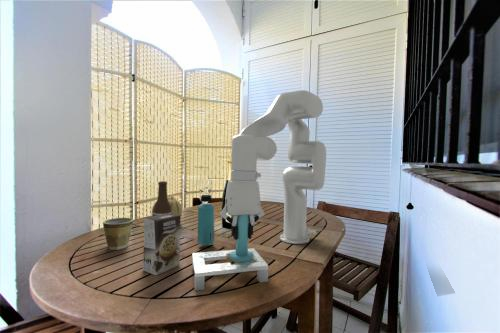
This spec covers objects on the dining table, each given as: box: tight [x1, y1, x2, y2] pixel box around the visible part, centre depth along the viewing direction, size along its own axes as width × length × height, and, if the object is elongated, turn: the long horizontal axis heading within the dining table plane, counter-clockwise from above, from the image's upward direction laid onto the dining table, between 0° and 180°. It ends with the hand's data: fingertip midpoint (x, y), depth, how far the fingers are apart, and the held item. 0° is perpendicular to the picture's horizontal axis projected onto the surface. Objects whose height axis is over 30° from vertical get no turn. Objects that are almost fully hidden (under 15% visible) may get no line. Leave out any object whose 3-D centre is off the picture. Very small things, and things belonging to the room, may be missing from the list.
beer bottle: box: [152, 180, 172, 216], centre depth 105 cm, size 8×8×24 cm
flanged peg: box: [229, 215, 253, 264], centre depth 73 cm, size 7×7×16 cm
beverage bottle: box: [197, 194, 216, 246], centre depth 95 cm, size 6×7×20 cm
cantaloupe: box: [150, 195, 183, 218], centre depth 124 cm, size 15×15×15 cm
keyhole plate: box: [191, 247, 269, 291], centre depth 73 cm, size 20×14×4 cm
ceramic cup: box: [102, 217, 134, 251], centre depth 94 cm, size 13×10×10 cm
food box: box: [142, 213, 182, 276], centre depth 76 cm, size 9×6×16 cm
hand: (242, 237), depth 73 cm, fingers closed on flanged peg, 3 cm apart
